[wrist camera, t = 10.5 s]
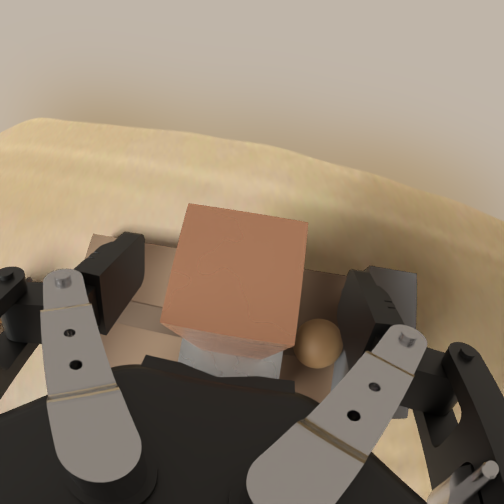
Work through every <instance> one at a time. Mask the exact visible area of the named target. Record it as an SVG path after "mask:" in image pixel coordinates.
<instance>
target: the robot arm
mask: <svg viewBox="0 0 504 504" xmlns="http://www.w3.org/2000/svg"><path fill="white" fill-rule="evenodd" d="M144 274H145V239H144V236H143V235H142V234H136V233H130V232H124V233H123V234H121V235H120V236H119V237H118V238H117V239H116V240H114V241H113V242H112V241H111V242H109V243H106V244H104V245H101V246H100V247H99V248H97V249H96V250H95V251H94V253H92V254H90V255H89V256H88V258H86V259H85V260H84V261H82V262H81V263H80V264H79V265H78V266H77V267H76V268H75V269H59V270H55V271H53V272H51V273H49V274H47V275H46V276H45V278H44V279H43V282H26V279H25V273H24V271H23V270H22V269H21V268H18V267H6V268H2V269H0V319H1V322H2V325H3V328H4V331H3V332H2V333H1V334H0V399H1V398H2V396H3V395H4V393H5V392H6V390H7V389H8V387H9V386H10V384H11V383H12V381H13V380H14V378H15V377H16V375H17V374H18V373H19V371H20V370H21V368H22V367H23V365H24V364H25V363H26V361H27V360H28V358H29V357H30V356H31V354H32V353H33V352H34V350H35V349H36V348H37V346H38V345H39V344H42V350H43V360H44V369H45V378H46V385H47V392H48V395H46V396H43V397H41V398H39V399H36V400H34V401H32V402H29V403H27V404H24V405H22V406H19V407H17V408H15V409H12V410H10V411H7V412H5V413H2V414H0V504H504V397H503V395H502V393H501V391H500V389H499V387H498V386H497V384H496V382H495V380H494V378H493V376H492V375H491V373H490V371H489V369H488V367H487V366H486V364H485V362H484V360H483V359H482V357H481V355H480V354H479V353H478V352H477V351H476V350H475V349H474V348H473V347H471V346H469V345H467V344H465V343H461V342H454V343H452V344H450V346H449V347H448V349H447V351H446V353H444V352H440V351H437V350H434V349H430V348H427V340H426V338H425V337H424V336H423V335H422V334H421V333H420V332H419V331H418V330H416V329H414V328H412V327H410V326H406V325H405V324H404V322H403V320H402V318H401V317H400V315H399V313H398V311H397V309H396V307H395V305H394V303H392V300H391V298H390V296H389V294H388V293H387V292H386V291H385V290H384V289H383V288H381V287H380V286H377V285H376V283H375V281H374V279H373V278H372V276H371V274H370V272H366V271H359V270H353V269H351V270H350V271H349V273H348V275H347V278H346V281H345V285H344V288H343V291H342V294H341V297H340V301H339V304H338V308H337V322H338V326H339V330H340V334H341V338H342V342H343V346H344V350H345V355H346V359H347V363H348V368H349V372H348V373H347V374H346V375H345V377H344V378H343V379H342V380H341V381H340V382H339V383H338V384H337V386H336V387H335V388H334V389H333V390H332V391H331V392H330V393H329V394H328V395H327V396H326V398H325V399H324V400H323V401H322V402H321V403H319V402H317V401H315V400H314V399H312V398H310V397H308V396H305V395H303V394H300V393H297V392H295V381H292V380H283V379H275V378H268V377H261V376H247V377H217V376H213V375H211V374H208V373H206V372H203V371H201V370H198V369H196V368H193V367H191V366H188V365H186V364H183V363H181V362H177V361H172V360H167V359H163V358H159V357H154V356H150V355H145V357H144V359H143V361H142V363H141V364H128V365H120V366H116V367H112V368H111V367H110V364H109V361H108V358H107V355H106V352H105V349H104V346H103V343H102V340H101V336H100V334H102V335H106V336H107V334H108V333H109V331H110V330H111V328H112V327H113V325H114V324H115V322H116V321H117V319H118V318H119V317H120V315H121V314H122V312H123V311H124V309H125V308H126V307H127V305H128V304H129V302H130V301H131V299H132V298H133V297H134V295H135V294H136V292H137V291H138V290H139V288H140V287H141V285H142V283H143V279H144ZM457 402H459V405H460V407H461V411H462V415H461V420H460V422H459V424H458V423H457V420H456V417H455V414H454V412H453V409H452V408H453V407H454V406H455V404H456V403H457ZM398 406H403V407H407V408H410V409H413V413H414V416H415V420H416V424H417V427H418V431H419V435H420V439H421V443H422V447H423V451H424V455H425V459H426V464H427V468H428V473H429V477H430V482H431V487H432V492H431V493H430V495H429V496H428V499H427V502H426V501H425V500H423V499H422V498H421V497H420V496H419V495H418V494H417V493H416V492H414V491H413V490H412V489H411V488H410V487H409V486H408V485H407V484H406V483H404V482H403V481H402V480H401V479H400V478H399V477H398V476H397V475H396V474H395V473H394V472H392V471H391V470H390V469H389V468H388V467H387V466H386V465H385V464H384V463H383V462H382V461H381V460H380V459H379V458H378V457H376V456H375V455H374V454H373V453H372V452H371V451H372V450H373V448H374V446H375V445H376V443H377V442H378V440H379V439H380V437H381V435H382V434H383V432H384V430H385V429H386V427H387V425H388V424H389V422H390V420H391V419H392V417H393V415H394V413H395V412H396V410H397V408H398Z"/></svg>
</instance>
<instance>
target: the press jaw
mask: <svg viewBox="0 0 504 504" xmlns="http://www.w3.org/2000/svg"><path fill="white" fill-rule="evenodd" d="M307 231H308V222H302V221H297V220H291V219H285V218H279V217H273V216H267V215H261V214H255V213H249V212H243V211H236V210H230V209H223V208H217V207H210V206H204V205H197V204H190V203H188V207H187V211H186V214H185V218H184V222H183V226H182V229H181V233H180V237H179V241H178V245H177V249H176V253H175V257H174V261H173V265H172V269H171V274H170V278H169V282H168V286H167V291H166V295H165V300H164V304H163V309H162V314H161V318H160V323H161V324H163V325H164V326H166V327H167V328H169V329H170V330H172V331H173V332H175V333H176V334H178V335H179V336H181V337H182V342H181V347H180V353H179V358H178V362H181V363H183V364H186V365H188V366H191V367H193V368H196V369H198V370H201V371H203V372H206V373H208V374H211V375H213V376H217V377H247V376H261V377H268V378H275V379H279V376H280V369H281V362H282V355H283V350H286V349H288V348H290V347H293V346H294V345H295V338H296V330H297V323H298V315H299V306H300V298H301V289H302V281H303V271H304V262H305V252H306V242H307Z"/></svg>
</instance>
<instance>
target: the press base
mask: <svg viewBox="0 0 504 504" xmlns="http://www.w3.org/2000/svg"><path fill="white" fill-rule="evenodd" d="M116 239H117V238H114V237H109V236H103V235H97V234H93V236H92V239H91V242H90V245H89V248H88V251H87V254H86V257H85V259H86V258H88V256H89V255H90V254H92V253H94V251H95V250H96V249H97V248H99V247H100V246H101V245H104V244H106V243H109V242H111V241H112V242H113V241H114V240H116ZM176 249H177V248H173V247H167V246H161V245H155V244H149V243H145V274H144V279H143V283H142V285H141V287H140V288H139V290H138V291H137V292H136V294H135V295H134V297H133V298H132V299H131V301H130V302H129V304H128V305H127V307H126V308H125V309H124V311H123V312H122V314H121V315H120V317H119V318H118V319H117V321H116V322H115V324H114V325H113V327H112V328H111V330H110V331H109V333H108V334H107V336H106V335H102V334H100V336H101V340H102V343H103V346H104V349H105V352H106V355H107V358H108V361H109V364H110V367H111V368H112V367H116V366H120V365H128V364H141V363H142V361H143V359H144V357H145V355H150V356H154V357H159V358H163V359H167V360H172V361H177V362H178V358H179V353H180V347H181V342H182V337H181V336H179V335H178V334H176V333H175V332H173V331H172V330H170V329H169V328H167V327H166V326H164V325H163V324H161V323H160V318H161V314H162V309H163V304H164V300H165V295H166V291H167V286H168V282H169V278H170V274H171V269H172V265H173V261H174V257H175V253H176ZM364 271H366V272H370V274H371V276H372V278H373V279H374V281H375V283H376V285H377V286H380V287H381V288H383V289H384V290H385V291H386V292H387V293H388V294H389V296H390V298H391V300H392V303H394V305H395V307H396V309H397V311H398V313H399V315H400V317H401V318H402V320H403V322H404V324H405V325H406V326H410V327H412V328H414V329H416V309H417V274H416V273H410V272H404V271H398V270H392V269H386V268H380V267H375V266H369V267H368V268H367V269H365V270H364ZM346 278H347V276H344V275H338V274H331V273H325V272H319V271H313V270H306V269H304V271H303V281H302V289H301V298H300V306H299V315H298V323H297V330H298V329H299V327H300V326H301V325H302V324H304V323H305V322H307V321H309V320H312V319H325V320H328V321H330V322H332V323H334V324H335V325H336V326H337V327H338V328H339V326H338V322H337V308H338V304H339V301H340V297H341V294H342V291H343V288H344V285H345V281H346ZM297 330H296V331H297ZM348 372H349V368H348V363H347V359H346V355H345V350H344V346H343V349H342V352H341V354H340V356H339V358H338V359H337V360H336V361H335V362H334V363H333V364H331V365H330V366H327V367H325V368H319V369H316V368H310V367H307V366H305V365H304V364H302V363H301V362H300V361H299V360H298V358H297V357H296V355H295V353H294V349H293V347H290V348H288V349H286V350H283V355H282V362H281V369H280V376H279V379H283V380H292V381H295V392H297V393H300V394H303V395H305V396H308V397H310V398H312V399H314V400H315V401H317V402H319V403H321V402H322V401H323V400H324V399H325V398H326V396H327V395H328V394H329V393H330V392H331V391H332V390H333V389H334V388H335V387H336V386H337V384H338V383H339V382H340V381H341V380H342V379H343V378H344V377H345V375H346V374H347V373H348ZM408 409H409V408H407V407H403V406H398V408H397V410H396V412H395V413H394V415H393V417H392V419H401V418H407V416H408Z"/></svg>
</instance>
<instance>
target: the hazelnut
mask: <svg viewBox="0 0 504 504" xmlns="http://www.w3.org/2000/svg"><path fill="white" fill-rule="evenodd" d="M293 349H294V353H295V355H296V357H297V358H298V360H299V361H300V362H301V363H302V364H304V365H305V366H307V367H310V368H316V369H319V368H325V367H327V366H330V365H331V364H333V363H334V362H335V361H336V360H337V359H338V358H339V356H340V354H341V352H342V349H343V342H342V338H341V334H340V330H339V328H338V327H337V326H336V325H335V324H334V323H332V322H330V321H328V320H325V319H312V320H309V321H307V322H305V323H304V324H302V325H301V326H300V327H299V329H298V330H297V331H296V338H295V345H294V346H293Z"/></svg>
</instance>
